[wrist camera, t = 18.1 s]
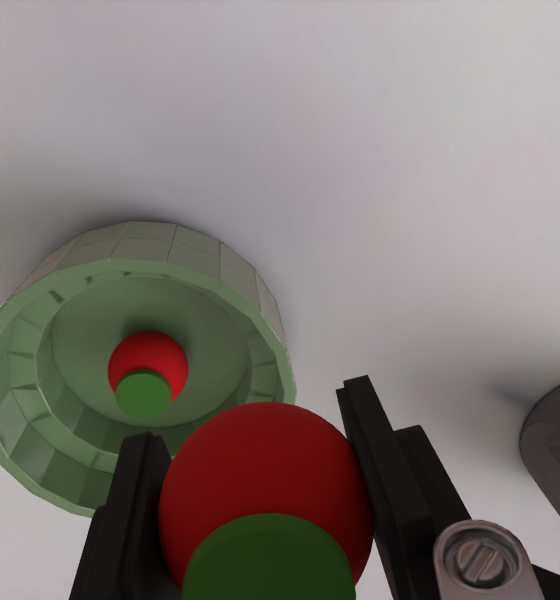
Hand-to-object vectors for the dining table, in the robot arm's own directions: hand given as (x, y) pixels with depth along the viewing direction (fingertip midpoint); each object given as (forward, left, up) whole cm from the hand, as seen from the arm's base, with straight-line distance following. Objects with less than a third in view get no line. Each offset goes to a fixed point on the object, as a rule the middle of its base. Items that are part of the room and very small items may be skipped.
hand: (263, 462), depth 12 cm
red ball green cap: (-6, -5, -17) cm, 19 cm away
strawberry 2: (0, 0, 0) cm, 0 cm away
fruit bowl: (-6, -5, -17) cm, 19 cm away
